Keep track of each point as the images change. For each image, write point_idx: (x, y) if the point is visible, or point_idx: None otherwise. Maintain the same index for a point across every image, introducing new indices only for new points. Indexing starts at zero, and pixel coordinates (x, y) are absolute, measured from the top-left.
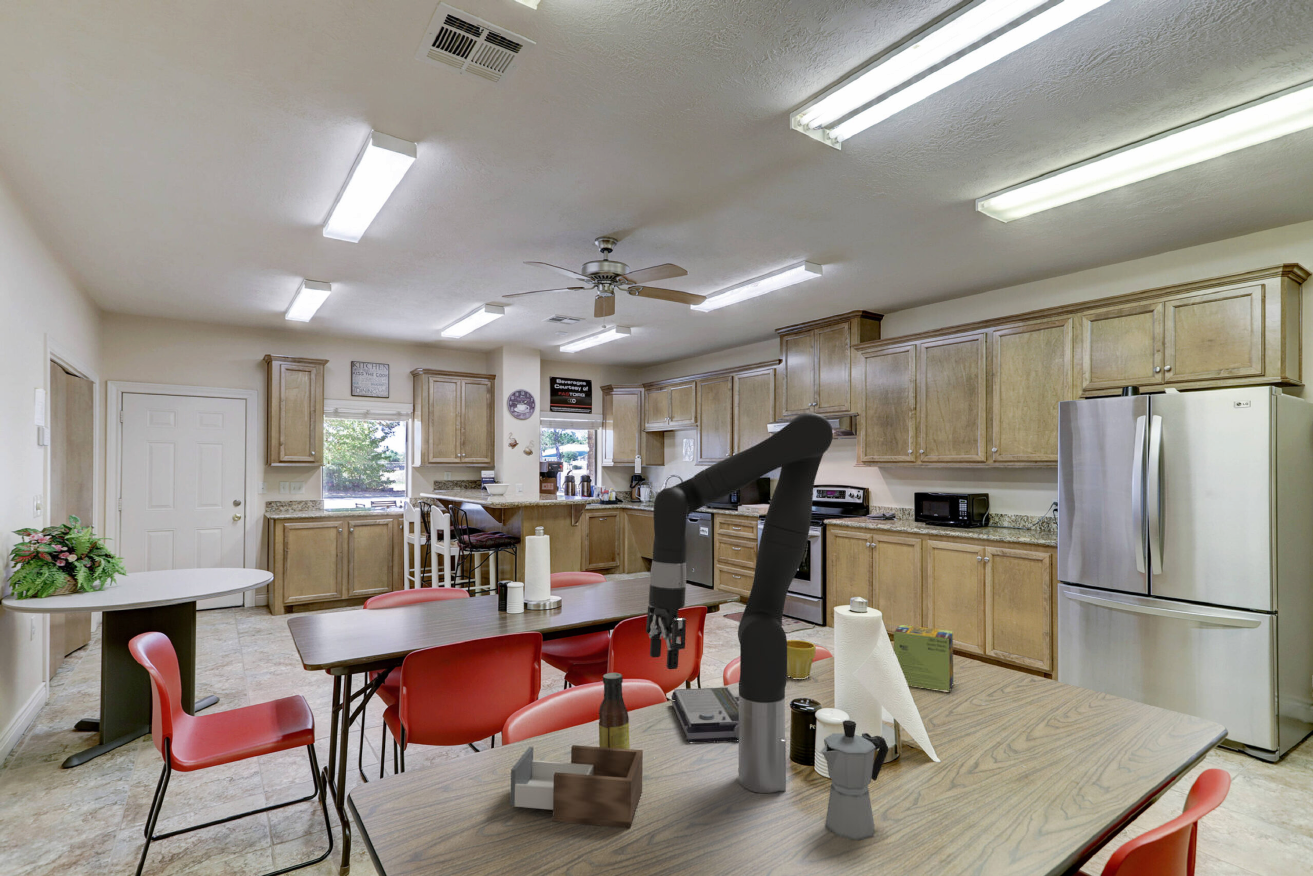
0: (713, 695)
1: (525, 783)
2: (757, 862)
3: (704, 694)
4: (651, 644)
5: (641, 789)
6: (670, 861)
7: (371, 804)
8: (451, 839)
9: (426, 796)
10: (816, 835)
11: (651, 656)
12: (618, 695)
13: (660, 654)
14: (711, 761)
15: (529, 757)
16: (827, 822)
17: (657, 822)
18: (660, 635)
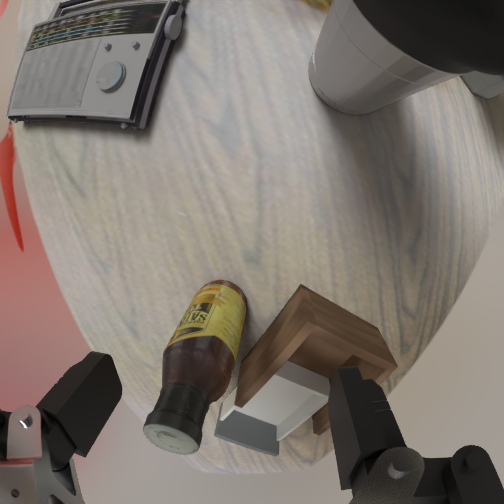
0: (44, 49)
1: (247, 418)
2: (491, 219)
3: (34, 64)
4: (93, 437)
5: (308, 292)
6: (448, 306)
7: (214, 470)
8: (297, 449)
9: (212, 452)
10: (482, 118)
11: (120, 393)
12: (204, 402)
13: (102, 357)
14: (236, 114)
15: (232, 433)
16: (477, 92)
17: (384, 293)
18: (45, 438)
